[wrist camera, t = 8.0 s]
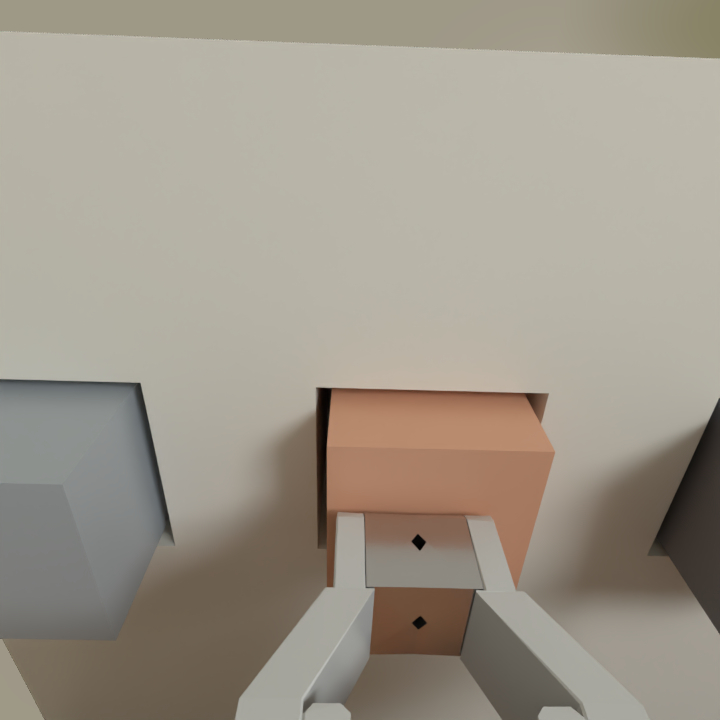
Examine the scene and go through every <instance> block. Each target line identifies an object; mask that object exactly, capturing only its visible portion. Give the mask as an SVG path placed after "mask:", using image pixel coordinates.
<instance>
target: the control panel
mask: <svg viewBox="0 0 720 720" xmlns="http://www.w3.org/2000/svg"><path fill="white" fill-rule="evenodd" d="M0 379H18V380H56V381H94V382H132V383H141V387H142V392H143V396H144V401H145V406H146V410H147V415H148V420H149V424H150V429H151V434H152V438H153V443H154V448H155V453H156V457H157V462H158V467H159V471H160V476H161V481H162V485H163V490H164V495H165V499H166V504H167V509H168V513H169V520H168V522H167V524H166V526H165V529H164V531H163V533H162V536H161V538H160V540H159V543H158V545H157V547H156V549H155V552H154V554H153V556H152V559H151V561H150V563H149V566H148V568H147V570H146V573H145V575H144V577H143V579H142V582H141V584H140V586H139V589H138V591H137V593H136V596H135V598H134V600H133V602H132V605H131V607H130V609H129V612H128V614H127V616H126V619H125V621H124V623H123V626H122V628H121V630H120V632H119V635H118V637H117V639H116V641H110V640H53V639H3V641H4V643H5V645H6V647H7V649H8V651H9V653H10V655H11V656H12V658H13V660H14V662H15V664H16V666H17V668H18V670H19V672H20V673H21V675H22V677H23V679H24V681H25V683H26V685H27V687H28V689H29V691H30V693H31V694H32V696H33V698H34V700H35V702H36V704H37V706H38V708H39V710H40V712H41V713H42V715H43V717H44V719H45V720H235V717H236V712H237V707H238V701H239V698H240V697H241V696H242V694H243V693H244V692H245V690H246V689H247V688H248V686H249V685H250V684H251V683H252V681H253V680H254V679H255V677H256V676H257V675H258V674H259V672H260V671H261V670H262V668H263V667H264V666H265V664H266V663H267V662H268V661H269V659H270V658H271V657H272V655H273V654H274V653H275V652H276V650H277V649H278V648H279V646H280V645H281V644H282V642H283V641H284V640H285V639H286V637H287V636H288V635H289V633H290V632H291V631H292V630H293V628H294V627H295V626H296V624H297V623H298V622H299V620H300V619H301V618H302V617H303V615H304V614H305V613H306V611H307V610H308V609H309V608H310V606H311V605H312V604H313V602H314V601H315V600H316V598H317V597H318V596H319V595H320V593H321V592H322V591H323V589H324V588H325V587H327V439H328V428H329V416H330V405H331V394H332V388H360V389H398V390H436V391H474V392H512V393H524V394H525V395H526V397H527V399H528V401H529V403H530V405H531V407H532V409H533V411H534V412H535V414H536V416H537V418H538V420H539V422H540V424H541V426H542V428H543V429H544V431H545V433H546V435H547V437H548V439H549V441H550V443H551V445H552V446H553V448H554V450H555V455H554V459H553V462H552V466H551V469H550V473H549V476H548V480H547V483H546V487H545V490H544V494H543V497H542V501H541V504H540V508H539V511H538V515H537V518H536V522H535V525H534V529H533V532H532V536H531V539H530V543H529V547H528V550H527V554H526V557H525V561H524V564H523V568H522V571H521V575H520V578H519V582H518V585H517V589H516V591H525V592H526V593H527V594H528V595H529V596H530V597H531V598H532V599H533V600H534V601H535V602H536V603H537V604H538V605H539V606H540V607H541V608H542V609H543V610H544V611H545V612H546V613H547V614H548V615H549V616H550V617H552V618H553V619H554V620H555V621H556V622H557V623H558V624H559V625H560V626H561V627H562V628H563V629H564V630H565V631H566V632H567V633H568V634H569V635H570V636H571V637H572V638H573V639H574V640H575V641H576V642H578V643H579V644H580V645H581V646H582V647H583V648H584V649H585V650H586V651H587V652H588V653H589V654H590V655H591V656H592V657H593V658H594V659H595V660H596V661H597V662H598V663H599V664H600V665H601V666H602V667H603V668H605V669H606V670H607V671H608V672H609V673H610V674H611V675H612V676H613V677H614V678H615V679H616V680H617V681H618V682H619V683H620V684H621V685H622V686H623V687H624V688H625V689H626V690H627V691H628V692H629V693H631V694H632V695H633V696H634V697H635V698H636V699H637V700H638V701H639V702H640V703H641V704H642V705H643V706H644V708H645V710H646V713H647V715H648V717H649V719H650V720H720V634H719V633H718V631H717V630H716V628H715V627H714V625H713V624H712V622H711V620H710V619H709V617H708V616H707V614H706V613H705V611H704V610H703V608H702V607H701V605H700V604H699V602H698V601H697V599H696V597H695V596H694V594H693V593H692V591H691V590H690V588H689V587H688V585H687V584H686V582H685V581H684V579H683V577H682V576H681V574H680V573H679V571H678V570H677V568H676V567H675V565H674V564H673V562H672V561H671V559H670V558H669V556H668V554H667V553H666V551H665V550H664V548H663V547H662V545H661V544H660V542H659V541H658V539H657V538H656V535H657V533H658V531H659V528H660V526H661V524H662V522H663V520H664V517H665V515H666V513H667V511H668V509H669V507H670V504H671V502H672V500H673V498H674V496H675V493H676V491H677V489H678V487H679V485H680V483H681V480H682V478H683V476H684V474H685V472H686V469H687V467H688V465H689V463H690V461H691V458H692V456H693V454H694V452H695V450H696V448H697V445H698V443H699V441H700V439H701V437H702V434H703V432H704V430H705V428H706V426H707V424H708V421H709V419H710V417H711V415H712V413H713V410H714V408H715V406H716V404H717V402H718V399H719V398H720V59H710V58H686V57H659V56H633V55H607V54H605V55H604V54H581V53H580V54H579V53H554V52H553V53H552V52H529V51H528V52H527V51H503V50H476V49H475V50H474V49H449V48H424V47H398V46H371V45H345V44H319V43H294V42H293V43H292V42H268V41H241V40H214V39H189V38H188V39H187V38H162V37H136V36H111V35H84V34H83V35H82V34H59V33H30V32H4V31H0ZM344 707H345V708H346V709H347V710H348V711H349V712H350V713H351V720H502V719H501V717H500V716H499V714H498V713H497V712H496V710H495V709H494V707H493V706H492V704H491V703H490V701H489V700H488V699H487V697H486V696H485V694H484V693H483V691H482V690H481V688H480V687H479V686H478V684H477V683H476V681H475V680H474V678H473V677H472V675H471V674H470V673H469V671H468V670H467V668H466V667H465V665H464V664H463V662H462V661H461V660H460V656H444V655H422V654H383V655H370V656H369V660H368V661H367V663H366V665H365V667H364V669H363V671H362V673H361V675H360V676H359V678H358V680H357V682H356V684H355V686H354V688H353V690H352V691H351V693H350V695H349V697H348V699H347V701H346V703H345V705H344Z"/></svg>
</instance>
